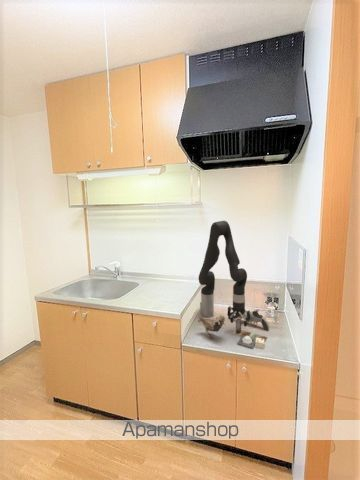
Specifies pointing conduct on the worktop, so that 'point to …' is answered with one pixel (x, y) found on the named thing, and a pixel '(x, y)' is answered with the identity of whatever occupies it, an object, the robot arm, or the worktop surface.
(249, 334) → the track
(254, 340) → the popper base
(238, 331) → the pawn
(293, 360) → the worktop surface
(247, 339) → the dome
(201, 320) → the stuffed bird
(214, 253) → the robot arm
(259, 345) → the die
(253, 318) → the gun
